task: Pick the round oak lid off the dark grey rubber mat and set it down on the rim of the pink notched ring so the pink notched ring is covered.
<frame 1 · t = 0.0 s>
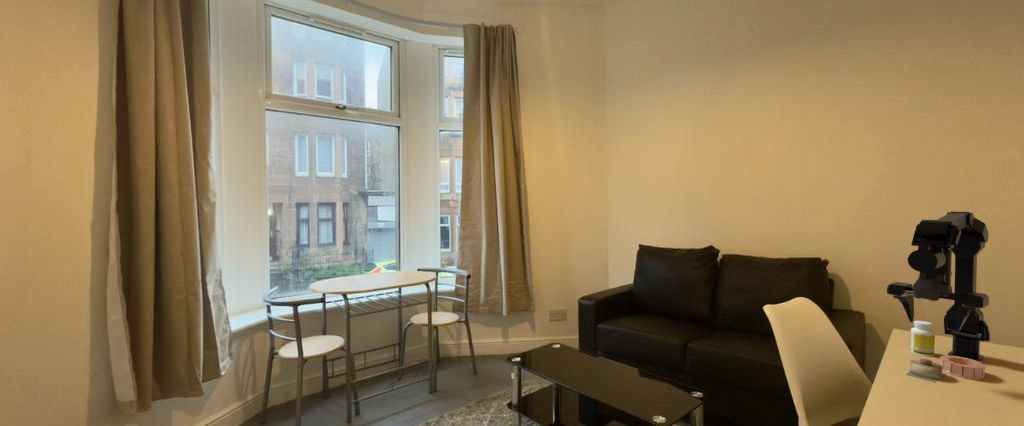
hand: (934, 326, 117), 15 cm above the table, tool pointing down, fingers open, 9 cm apart
pink notched ring: (961, 373, 121), on the table
supplement bottle: (921, 354, 135), on the table
lid: (925, 374, 120), resting on mat
mat: (925, 375, 120), on the table
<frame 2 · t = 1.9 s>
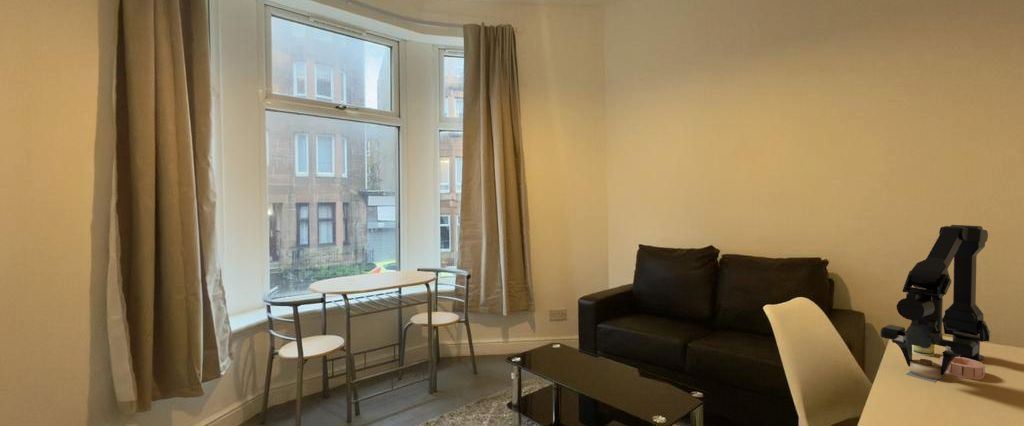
hand: (925, 370, 120), 1 cm above the table, tool pointing down, fingers closed on lid, 6 cm apart
lid: (925, 374, 120), resting on mat, touching gripper
everything else where it was.
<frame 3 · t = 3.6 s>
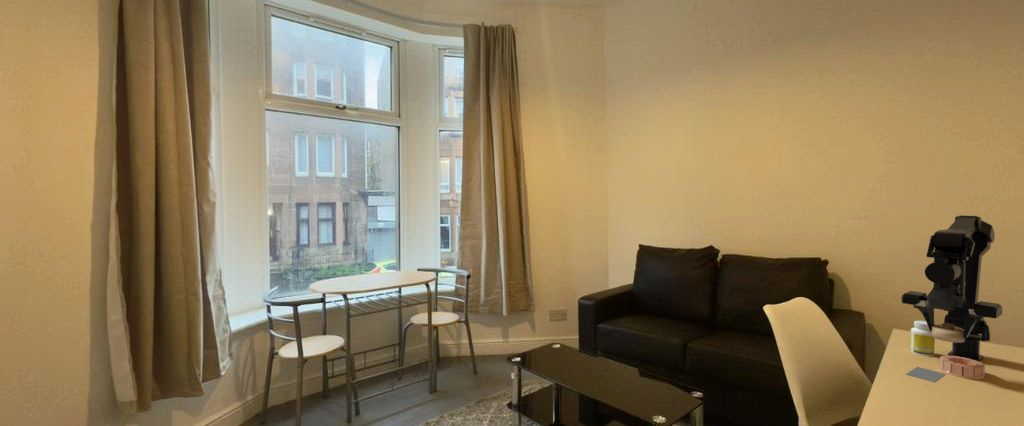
hand: (948, 334, 120), 11 cm above the table, tool pointing down, fingers closed on lid, 6 cm apart
lid: (948, 338, 120), point 10 cm above the table, touching gripper
everything else where it was.
when the fingers open (6 cm above the table, at t = 5.5 s): lid drops 1 cm, resting on pink notched ring.
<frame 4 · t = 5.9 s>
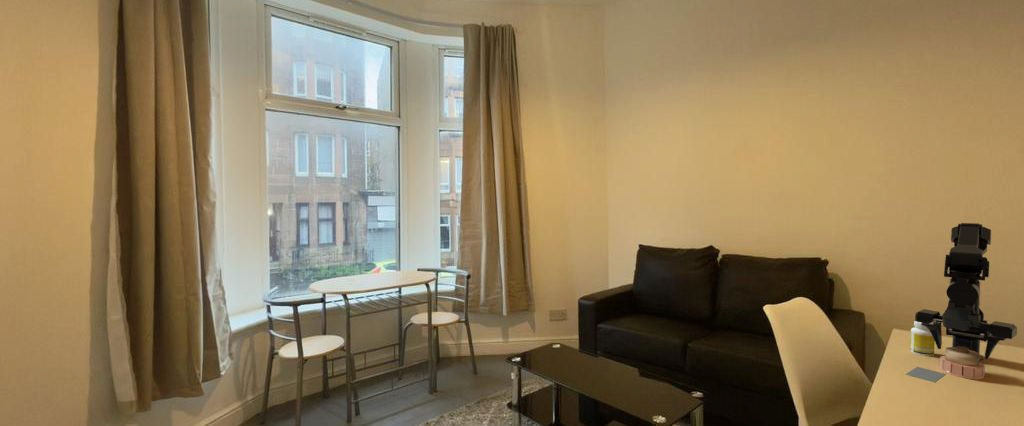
hand: (962, 353, 121), 6 cm above the table, tool pointing down, fingers open, 9 cm apart
lid: (962, 361, 121), point 3 cm above the table, touching pink notched ring
everything else where it was.
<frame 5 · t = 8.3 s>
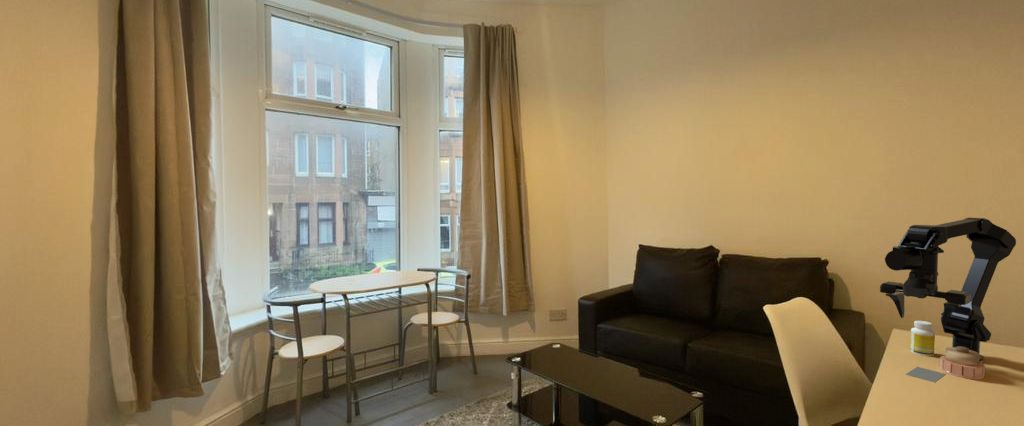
hand: (922, 321, 129), 12 cm above the table, tool pointing down, fingers open, 9 cm apart
nothing on the table moved.
at the end: lid 0.0 cm off-centre on the pink notched ring, point 3.5 cm above the pink notched ring's base; lid tilted 0°; the gripper is holding nothing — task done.
